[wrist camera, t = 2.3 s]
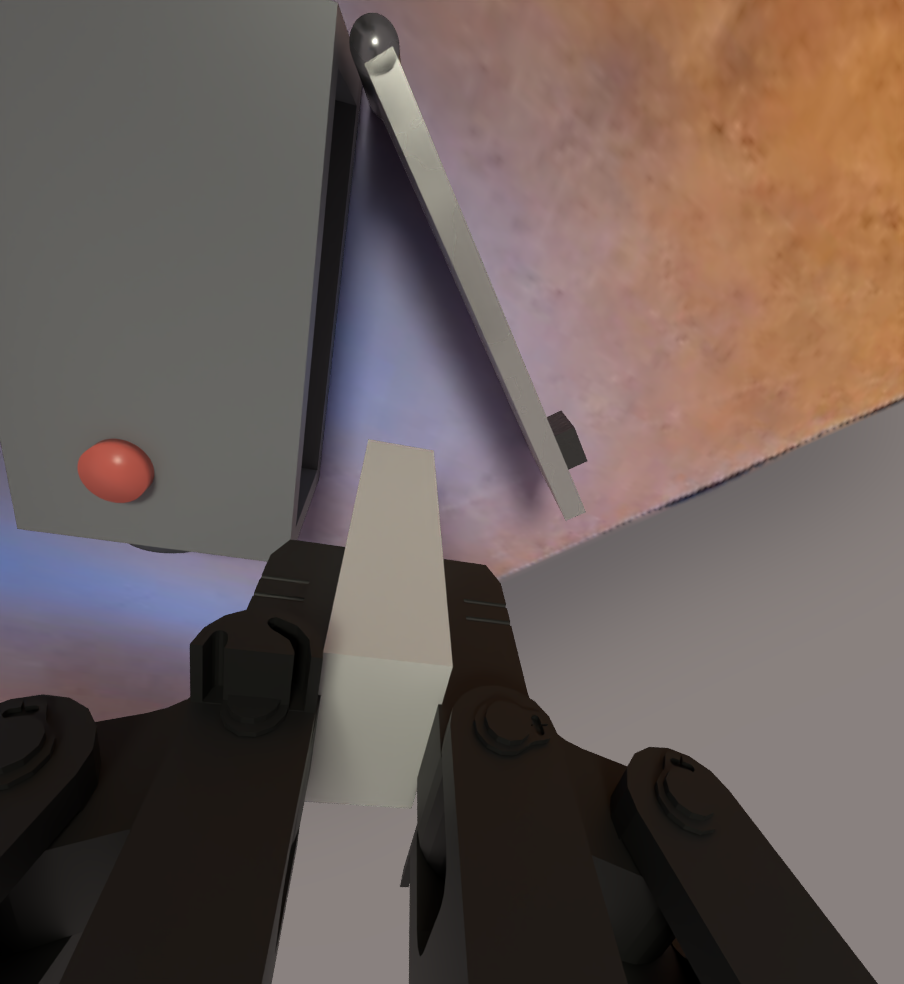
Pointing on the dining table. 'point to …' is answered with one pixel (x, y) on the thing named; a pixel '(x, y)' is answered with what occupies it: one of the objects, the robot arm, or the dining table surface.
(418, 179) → the side door
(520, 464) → the dining table surface
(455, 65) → the dining table surface
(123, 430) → the grey cabinet body
